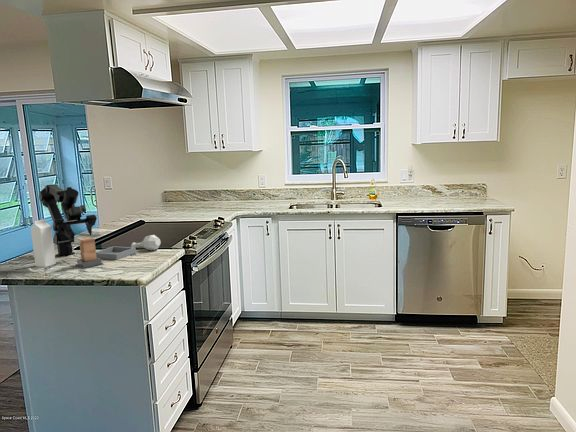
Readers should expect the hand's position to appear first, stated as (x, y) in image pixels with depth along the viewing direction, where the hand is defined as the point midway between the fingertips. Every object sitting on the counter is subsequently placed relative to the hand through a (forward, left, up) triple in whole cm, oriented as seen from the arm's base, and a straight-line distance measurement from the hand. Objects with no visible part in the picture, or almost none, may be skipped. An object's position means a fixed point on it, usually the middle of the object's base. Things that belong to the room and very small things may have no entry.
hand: (80, 236), depth 202 cm
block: (+7, -3, -12) cm, 14 cm away
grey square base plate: (+7, -3, -13) cm, 15 cm away
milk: (-14, -8, -13) cm, 21 cm away
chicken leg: (+12, +31, -13) cm, 35 cm away
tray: (+7, +14, -13) cm, 20 cm away
